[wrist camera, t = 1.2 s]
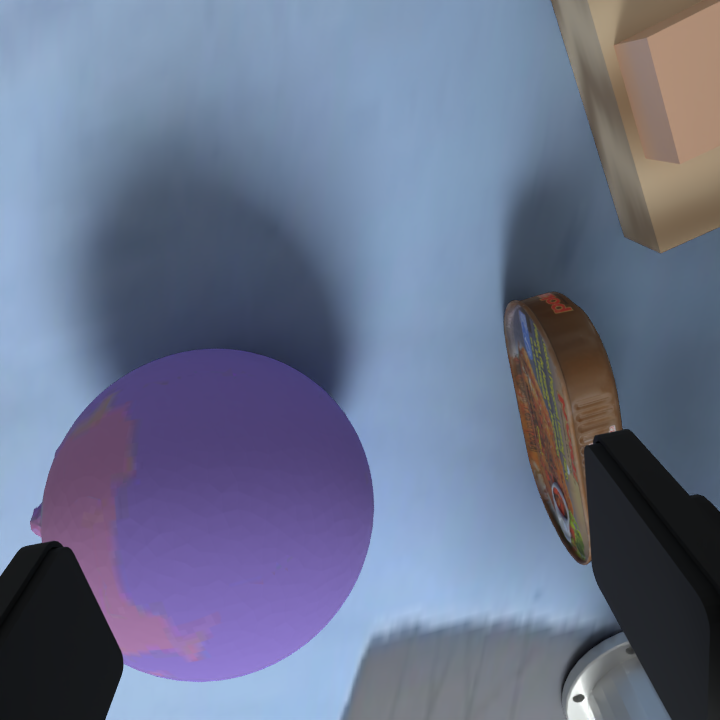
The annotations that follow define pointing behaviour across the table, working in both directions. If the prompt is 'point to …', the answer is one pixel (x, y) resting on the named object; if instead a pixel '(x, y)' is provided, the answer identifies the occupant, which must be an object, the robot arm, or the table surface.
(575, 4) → the board
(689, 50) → the tile terracotta
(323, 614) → the decorative ball
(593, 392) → the tin
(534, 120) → the table surface
